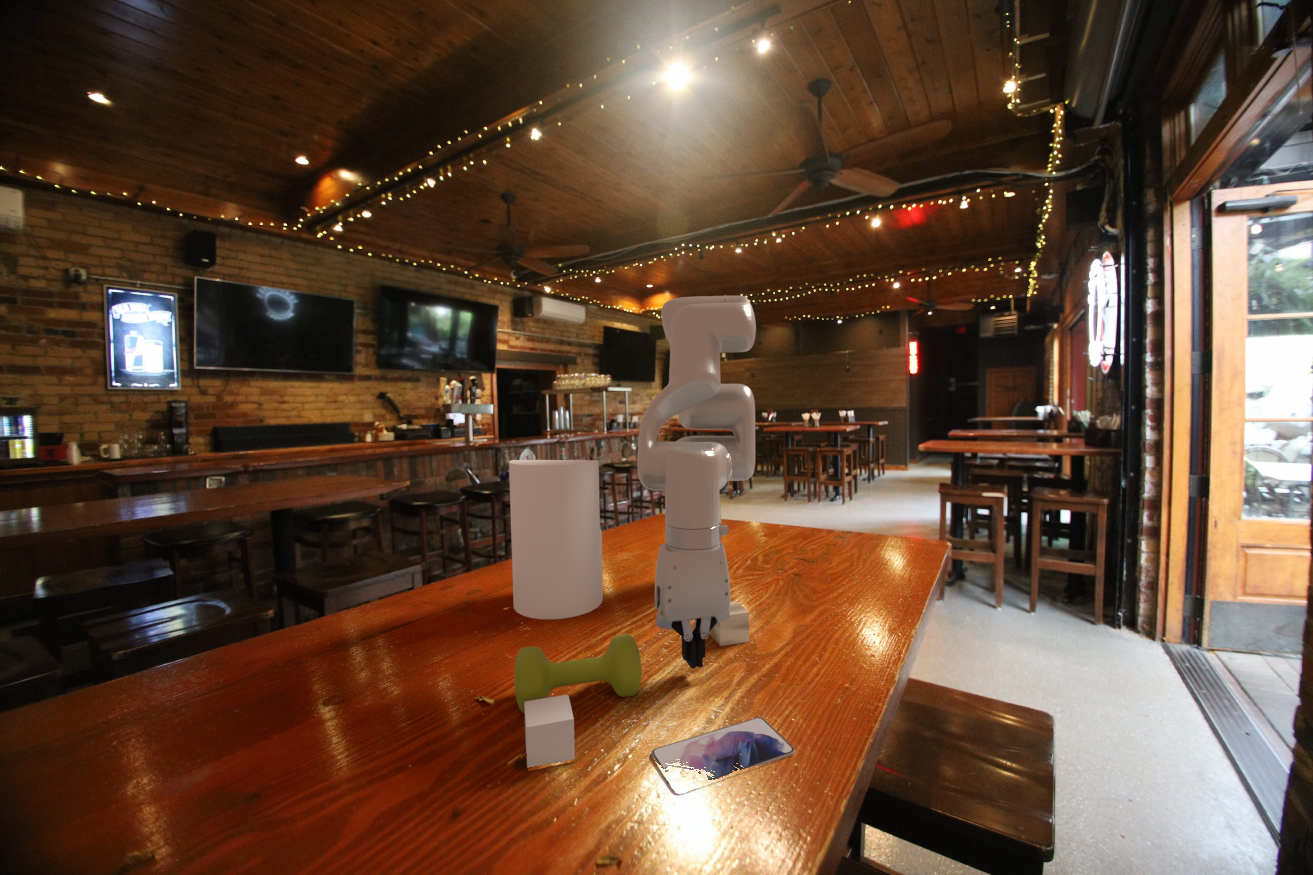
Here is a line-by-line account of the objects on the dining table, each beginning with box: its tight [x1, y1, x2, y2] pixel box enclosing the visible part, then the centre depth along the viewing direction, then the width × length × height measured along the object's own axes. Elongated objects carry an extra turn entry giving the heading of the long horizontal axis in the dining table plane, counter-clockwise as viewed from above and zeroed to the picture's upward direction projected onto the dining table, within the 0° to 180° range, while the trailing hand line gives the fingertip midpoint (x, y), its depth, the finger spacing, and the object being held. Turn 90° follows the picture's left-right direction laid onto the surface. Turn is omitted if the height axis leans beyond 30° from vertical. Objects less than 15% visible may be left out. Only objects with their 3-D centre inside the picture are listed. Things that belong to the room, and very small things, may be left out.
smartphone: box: [650, 717, 796, 780], centre depth 58 cm, size 7×1×15 cm
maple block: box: [709, 600, 750, 647], centre depth 87 cm, size 5×5×5 cm
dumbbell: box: [514, 633, 643, 714], centre depth 70 cm, size 16×8×7 cm, turn 105°
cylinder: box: [508, 459, 604, 620], centre depth 103 cm, size 17×17×28 cm
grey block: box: [524, 693, 576, 769], centre depth 59 cm, size 5×5×5 cm
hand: (693, 663), depth 74 cm, fingers closed
